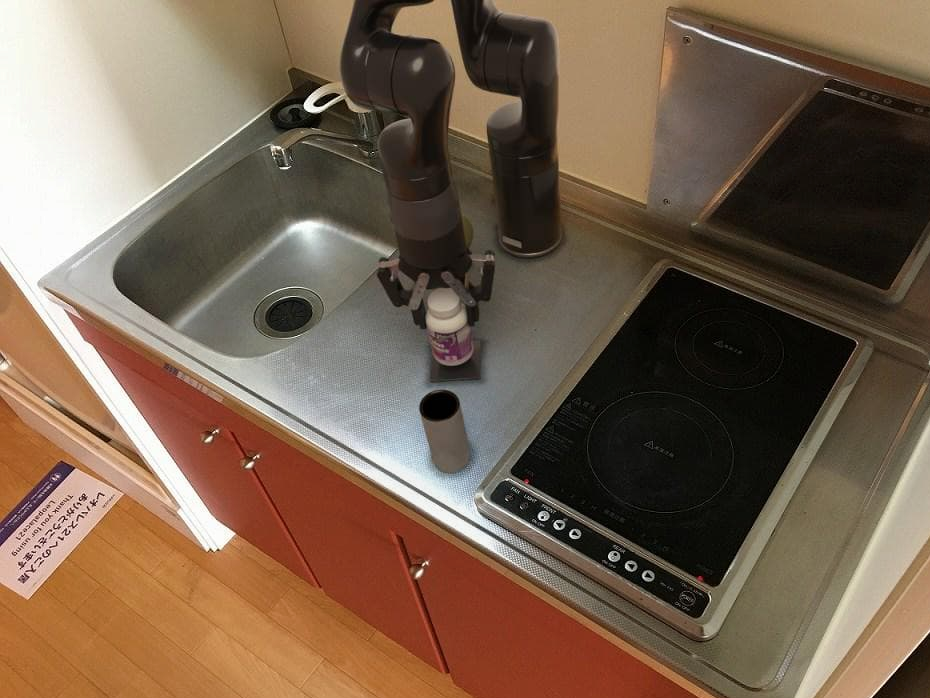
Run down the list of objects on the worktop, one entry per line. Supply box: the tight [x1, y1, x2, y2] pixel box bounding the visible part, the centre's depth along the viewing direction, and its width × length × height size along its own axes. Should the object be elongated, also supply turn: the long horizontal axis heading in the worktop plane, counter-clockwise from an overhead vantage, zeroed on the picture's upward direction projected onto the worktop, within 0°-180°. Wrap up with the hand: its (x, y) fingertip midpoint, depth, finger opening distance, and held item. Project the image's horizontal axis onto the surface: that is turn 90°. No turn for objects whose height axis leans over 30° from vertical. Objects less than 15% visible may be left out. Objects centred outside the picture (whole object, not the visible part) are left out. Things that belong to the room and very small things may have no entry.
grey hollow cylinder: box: [418, 389, 472, 474], centre depth 94 cm, size 4×4×10 cm
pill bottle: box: [425, 288, 474, 366], centre depth 102 cm, size 5×5×10 cm
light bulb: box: [461, 214, 474, 250], centre depth 114 cm, size 6×6×10 cm
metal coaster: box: [429, 339, 482, 383], centre depth 107 cm, size 6×6×1 cm
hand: (447, 322), depth 102 cm, fingers closed on pill bottle, 5 cm apart
